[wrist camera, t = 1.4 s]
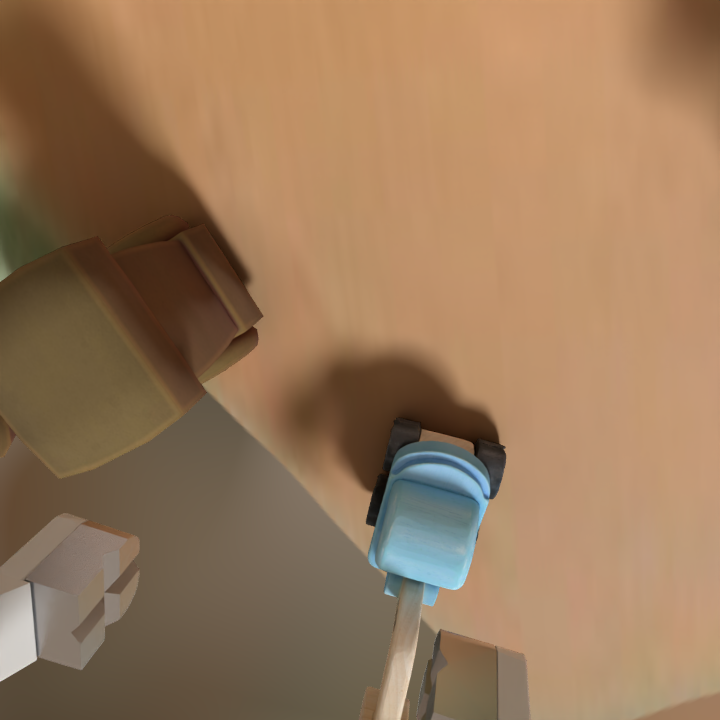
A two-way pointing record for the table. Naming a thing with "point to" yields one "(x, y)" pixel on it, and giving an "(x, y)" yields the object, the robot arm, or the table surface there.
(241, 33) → the table surface
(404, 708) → the toy excavator
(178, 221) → the wooden toy train
